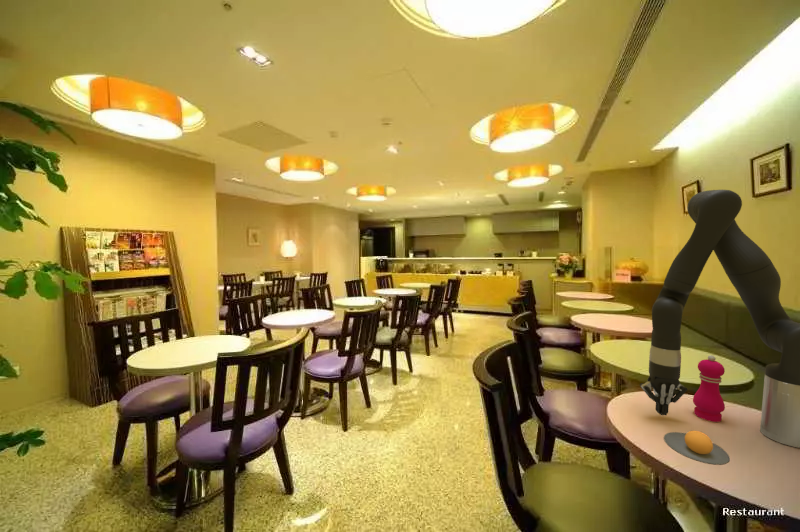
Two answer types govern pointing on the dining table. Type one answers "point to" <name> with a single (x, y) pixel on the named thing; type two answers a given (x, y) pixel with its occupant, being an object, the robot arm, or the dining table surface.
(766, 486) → the dining table surface
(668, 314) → the robot arm
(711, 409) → the pepper mill
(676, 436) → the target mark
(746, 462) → the dining table surface
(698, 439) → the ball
